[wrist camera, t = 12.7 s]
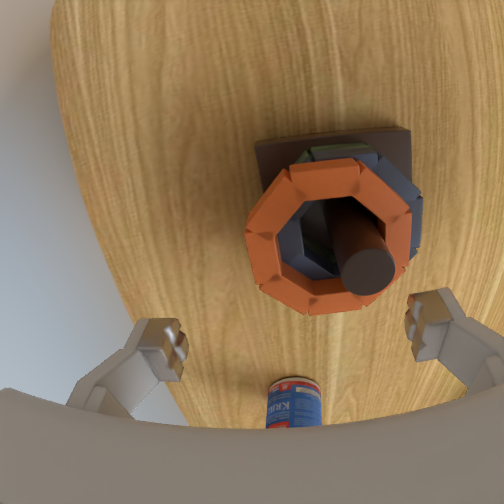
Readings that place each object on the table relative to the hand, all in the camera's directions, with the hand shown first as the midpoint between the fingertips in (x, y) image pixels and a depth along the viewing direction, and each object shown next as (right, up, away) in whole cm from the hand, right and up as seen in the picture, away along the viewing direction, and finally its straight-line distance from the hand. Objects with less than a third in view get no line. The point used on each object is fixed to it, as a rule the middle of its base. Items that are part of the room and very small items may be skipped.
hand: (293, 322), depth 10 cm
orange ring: (+3, +3, +5) cm, 7 cm away
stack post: (+4, +6, +9) cm, 11 cm away
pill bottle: (+3, -12, +19) cm, 23 cm away
